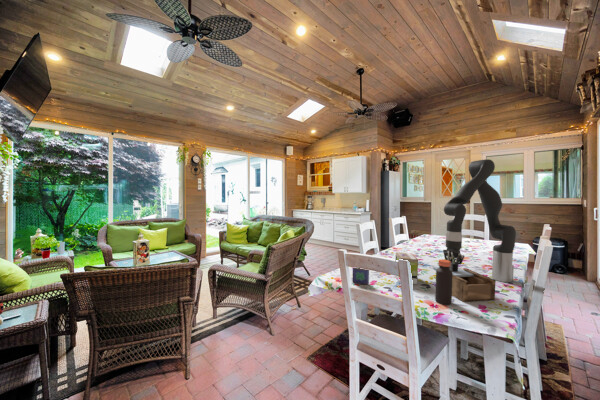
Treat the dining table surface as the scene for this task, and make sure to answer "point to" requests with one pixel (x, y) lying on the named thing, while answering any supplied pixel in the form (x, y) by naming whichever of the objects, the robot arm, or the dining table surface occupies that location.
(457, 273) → the cover plate
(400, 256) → the tea box
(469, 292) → the walnut box
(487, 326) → the dining table surface
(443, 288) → the bottle
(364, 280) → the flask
